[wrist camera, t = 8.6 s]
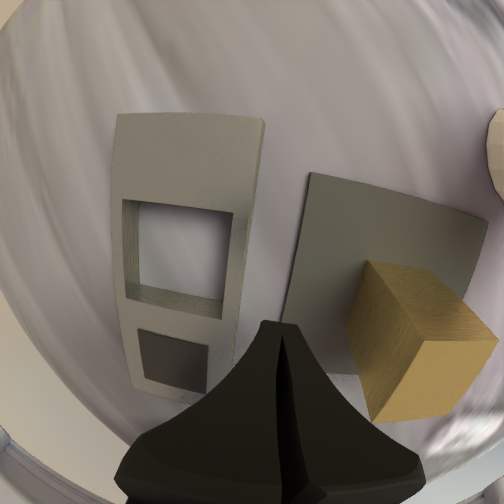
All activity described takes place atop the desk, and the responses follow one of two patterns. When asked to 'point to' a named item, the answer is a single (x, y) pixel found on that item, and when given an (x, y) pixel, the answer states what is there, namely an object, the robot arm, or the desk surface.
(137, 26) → the desk surface
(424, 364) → the brass rectangular block
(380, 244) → the mat
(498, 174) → the white cup
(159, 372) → the grey plate with hole
